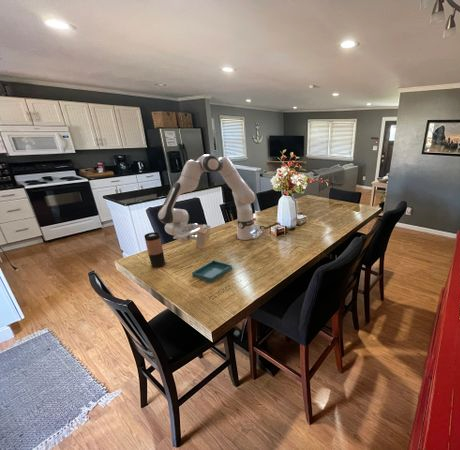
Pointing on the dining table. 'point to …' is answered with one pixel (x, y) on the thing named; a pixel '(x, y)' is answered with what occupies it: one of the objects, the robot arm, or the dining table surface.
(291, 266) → the dining table surface
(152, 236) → the travel mug
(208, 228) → the supplement box
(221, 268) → the tray
